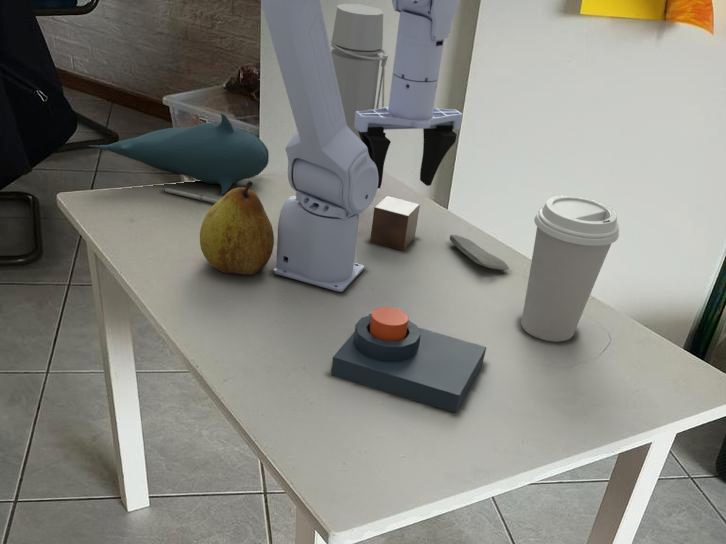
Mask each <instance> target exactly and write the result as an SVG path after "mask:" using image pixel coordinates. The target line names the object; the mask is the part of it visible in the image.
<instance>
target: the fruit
mask: <svg viewBox="0 0 726 544" xmlns="http://www.w3.org/2000/svg"><path fill="white" fill-rule="evenodd" d="M252 186H253V181H251V180H249V181H247V183H245V187H243V186H241V187H235V188H232V189H230V190H228V191H227V192H226V193H225V194H223V196H222V197H221V199H220V200H219V201H218V202H216V203H215V202H214V204H212V206H211V207H209V209H208V211H206V213H205V215H204V218H203V220H202V222H201V226H200V230H199V246H200V250H201V252H202V254H203V257H204V258H205V260H206V261H207V262H208V263H209V264H210V265H211V266H212V267H213V268H214V269H216V270H218V271H220V272H223V273H226V274H234V275H235V274H237V275H247V276H248V275H255V274H257V273H259V272H260V271H262V269H264V267H265V266H266V265H267V263H268V262H269V261H270V259H271V257H272V254H273V251H274V246H275V235H274V230H273V226H272V223H271V221H270V218H269V216H268V215H267V213H266V210H265V209H264V205H263V203H262V201H261V198H259V196H258V195H257V193H256V192H254V191H253V190H252V189H251V187H252Z"/></svg>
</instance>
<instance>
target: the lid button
mask: <svg viewBox="0 0 726 544" xmlns="http://www.w3.org/2000/svg"><path fill="white" fill-rule="evenodd" d="M370 314H371V321H370V329H369V332H370V334H371V335H373V336H374V337H376V338H379V339H382V340H386V341H399V340H402V339H404V338H405V337H406V333H407V327H408V321H410V320H409V319H410V318H409V315H408V313H406V312H405V311H404V310H402V309H399V308H397V307H392V306H381V307H376V308H374V309H373V310H372V312H371V313H370Z"/></svg>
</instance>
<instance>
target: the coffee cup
mask: <svg viewBox="0 0 726 544" xmlns="http://www.w3.org/2000/svg"><path fill="white" fill-rule="evenodd" d="M533 221H534V224H535V226H536V231H535V232H536V233H535V237H534V239H535V240H534V243H533V250H532V257H531V263H530V269H529V275H528V281H527V288H526V293H525V299H524V303H523V304H524V305H523V311H522V316H521V327H522V329H523V330H524V331H525V332H526V333H527V334H529V335H530V336H533V337H534V338H537V339H540V340H542V341H548V342H553V343H556V342H565V341H568V340H570V339H571V338H573V336H574V334H575V332H576V330H577V327H578V324H579V323H580V322H579V321H580V320H581V317H582V315H583V312H584V311H585V308H586V305H587V303H588V301H589V298H590V297H591V294H592V291H593V288H594V286H595V283H596V281H597V279H598V276H599V274H600V272H601V270H602V267H603V264H604V262H605V261H606V257H607V255H608V253H609V251H610V248H611V246H612V244H613V243H615V242H617V241H618V239H619V238H620V237H619V236H620V227H619V226H620V225H619V223H618V215H617V212H616V211H615V210H614V209H613V208H612V207H610V206H609V205H606V204H605V203H603V202H600V201H598V200H595V199H592V198H589V197H585V196H578V195H570V194H569V195H568V194H567V195H566V194H565V195H562V194H561V195H555V196H552V197H550V198H548V199H546V201H545V204H544V205H543V206H542V207H540V209H539V210H538V211H537V212H536V215H535V216H534V219H533Z"/></svg>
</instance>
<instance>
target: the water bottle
mask: <svg viewBox="0 0 726 544" xmlns="http://www.w3.org/2000/svg"><path fill="white" fill-rule="evenodd" d="M383 35H384V10H382V9H380V8H379V7H374V6H370V5H366V4H358V3H341V4H338V5H337V8H336V12H335V19H334V24H333V30H332V36H331V39H330V47H332V48H331V55H332V59H333V64H334V68H335V73H336V77H337V82H338V87H339V91H340V96H341V100H342V105H343V110H344V114H345V119H346V123H347V126H348V127H349V129H350V130H351V131H352V132H353V133H354V134H355V135H356V136H357V137H358V138H359V139H360V140H361V138H360V135H359V133H358V130H357V129H356V128H355V127H354V123H355V112H356V111H367V110H373V109H379V106H380V99H381V108H385V72H386V71H385V68H386V65H387V61H388V58H389V54H388V53H387V51H386V50H384V49H383V40H384V38H383V37H384V36H383ZM381 53H382V56H381V55H380V54H381ZM380 62H381V64H380ZM380 66H381V73H380V79H379V71H380ZM378 80H379V88H378ZM377 88H378V94H377ZM381 93H382V94H381ZM376 97H377V99H376ZM376 100H377V101H376ZM375 107H376V108H375Z"/></svg>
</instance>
